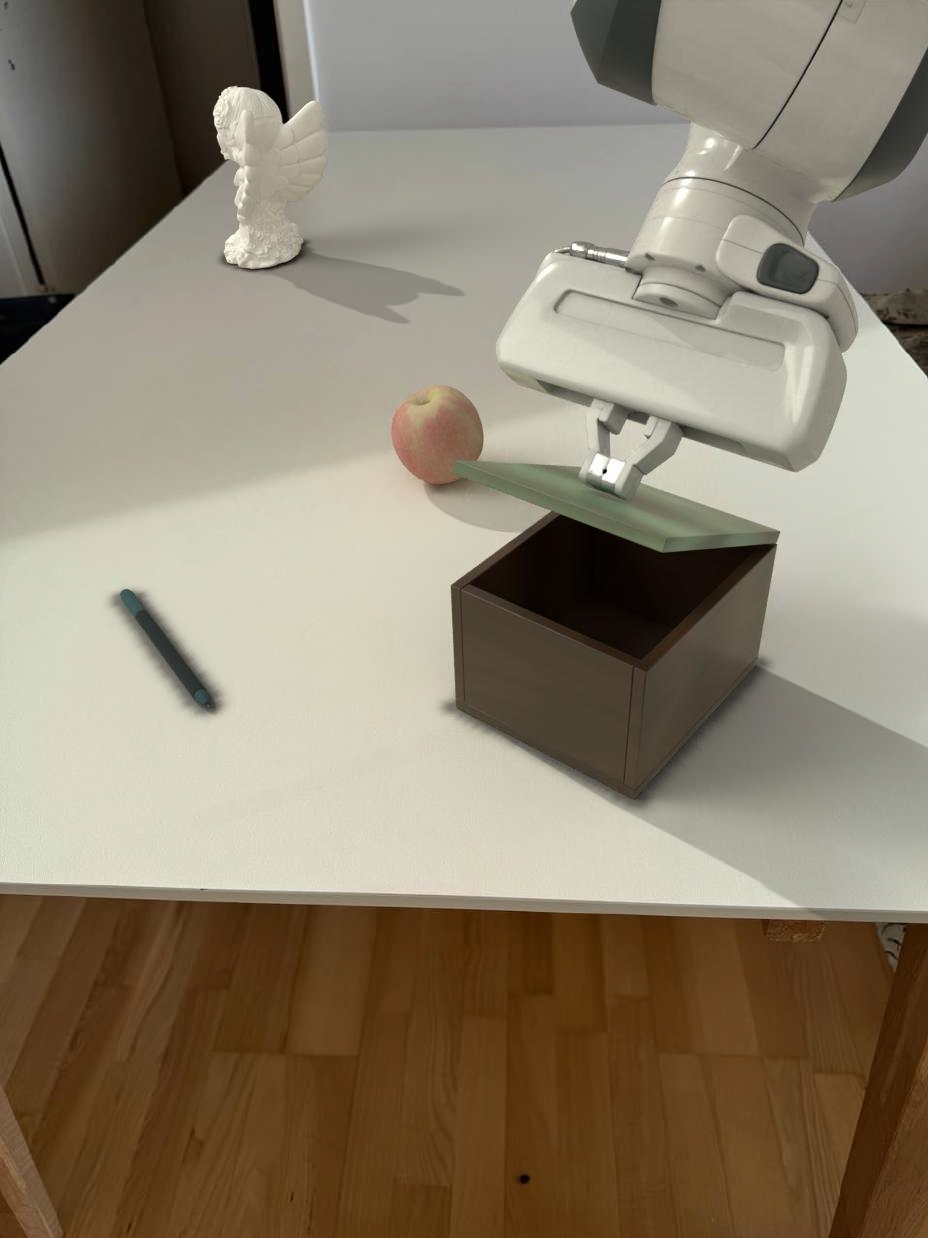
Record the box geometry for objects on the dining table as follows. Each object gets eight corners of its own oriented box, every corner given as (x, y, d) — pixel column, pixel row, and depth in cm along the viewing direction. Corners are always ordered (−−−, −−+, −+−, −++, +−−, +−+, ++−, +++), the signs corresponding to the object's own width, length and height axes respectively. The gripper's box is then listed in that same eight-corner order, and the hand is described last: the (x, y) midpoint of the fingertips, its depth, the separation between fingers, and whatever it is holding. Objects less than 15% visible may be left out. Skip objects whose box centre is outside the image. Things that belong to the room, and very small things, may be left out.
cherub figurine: (284, 230, 150) (264, 70, 138) (343, 250, 143) (328, 83, 131) (205, 255, 143) (176, 89, 131) (263, 277, 136) (239, 103, 124)
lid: (662, 553, 54) (667, 537, 54) (450, 472, 61) (454, 459, 61) (776, 543, 68) (781, 531, 68) (592, 478, 75) (596, 467, 75)
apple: (426, 447, 100) (422, 365, 95) (500, 466, 97) (499, 382, 92) (377, 486, 94) (370, 401, 89) (454, 508, 91) (450, 421, 86)
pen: (202, 699, 71) (218, 699, 72) (120, 585, 82) (135, 587, 82) (197, 712, 71) (213, 713, 72) (116, 598, 82) (130, 600, 83)
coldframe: (634, 800, 64) (646, 672, 59) (455, 707, 71) (449, 584, 66) (756, 664, 74) (778, 543, 68) (588, 594, 81) (594, 478, 75)
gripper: (535, 207, 65) (436, 420, 65) (871, 279, 54) (752, 532, 54) (575, 261, 70) (483, 457, 70) (887, 335, 60) (779, 565, 60)
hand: (603, 490), depth 62 cm, fingers closed
